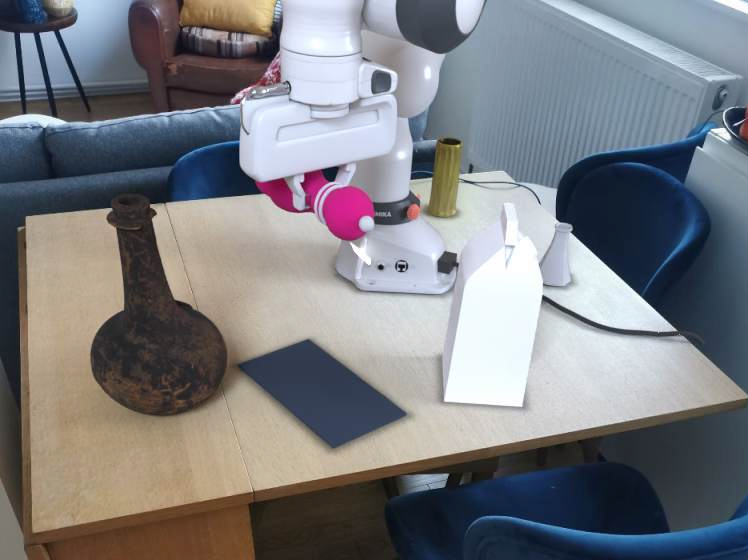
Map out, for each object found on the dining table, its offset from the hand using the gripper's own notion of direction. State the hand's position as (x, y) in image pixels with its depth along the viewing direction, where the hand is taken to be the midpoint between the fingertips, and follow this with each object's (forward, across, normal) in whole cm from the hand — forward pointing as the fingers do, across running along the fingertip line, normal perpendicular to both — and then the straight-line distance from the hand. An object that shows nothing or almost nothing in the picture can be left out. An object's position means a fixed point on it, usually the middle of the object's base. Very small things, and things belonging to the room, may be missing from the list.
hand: (320, 203), depth 92 cm
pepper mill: (-1, 0, +10) cm, 10 cm away
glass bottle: (+28, -19, +11) cm, 35 cm away
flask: (+28, +57, +5) cm, 64 cm away
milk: (+28, +22, -12) cm, 37 cm away
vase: (+28, +60, +39) cm, 77 cm away
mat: (+27, 0, 0) cm, 27 cm away
